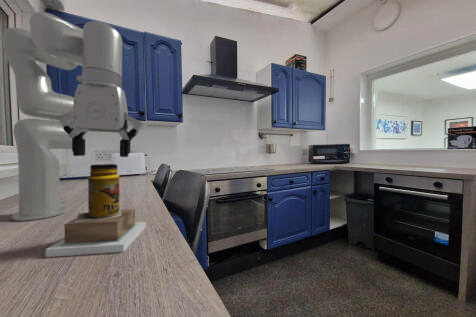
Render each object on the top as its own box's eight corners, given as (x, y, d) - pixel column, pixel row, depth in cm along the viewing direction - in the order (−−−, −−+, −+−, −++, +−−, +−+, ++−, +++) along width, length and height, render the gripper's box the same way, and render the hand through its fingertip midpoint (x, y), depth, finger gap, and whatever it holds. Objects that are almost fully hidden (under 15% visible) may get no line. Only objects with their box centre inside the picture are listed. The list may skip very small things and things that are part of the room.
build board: (89, 230, 52) (89, 224, 52) (145, 227, 54) (145, 221, 54) (45, 257, 38) (45, 248, 38) (123, 251, 40) (123, 244, 40)
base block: (93, 226, 50) (93, 210, 50) (135, 224, 51) (134, 209, 51) (64, 243, 40) (64, 224, 40) (117, 240, 41) (117, 221, 41)
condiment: (121, 216, 45) (121, 164, 45) (74, 223, 40) (73, 165, 40) (120, 209, 51) (120, 163, 51) (78, 214, 46) (78, 164, 46)
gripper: (47, 72, 40) (47, 155, 41) (136, 79, 43) (135, 157, 43) (72, 85, 48) (72, 155, 48) (147, 90, 50) (146, 156, 51)
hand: (102, 156), depth 46 cm, fingers open, 9 cm apart
